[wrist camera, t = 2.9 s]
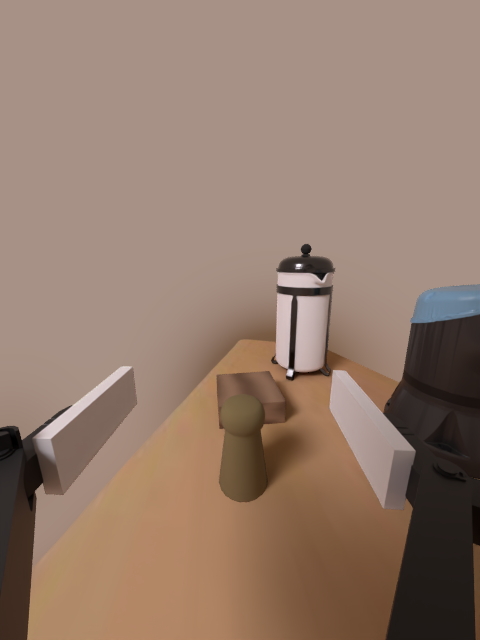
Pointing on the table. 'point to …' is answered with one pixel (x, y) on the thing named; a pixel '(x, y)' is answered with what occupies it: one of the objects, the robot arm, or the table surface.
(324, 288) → the coffee press
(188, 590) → the table surface
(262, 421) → the olive pawn
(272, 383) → the walnut base
